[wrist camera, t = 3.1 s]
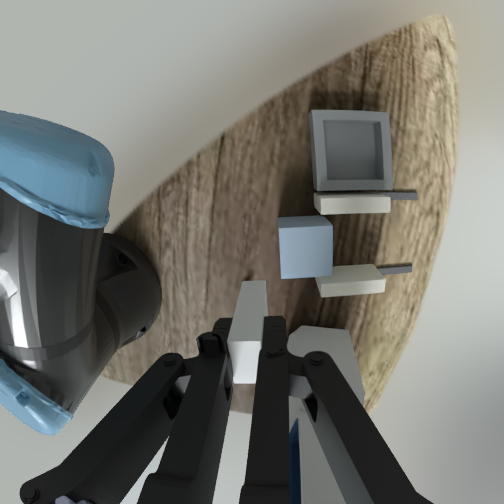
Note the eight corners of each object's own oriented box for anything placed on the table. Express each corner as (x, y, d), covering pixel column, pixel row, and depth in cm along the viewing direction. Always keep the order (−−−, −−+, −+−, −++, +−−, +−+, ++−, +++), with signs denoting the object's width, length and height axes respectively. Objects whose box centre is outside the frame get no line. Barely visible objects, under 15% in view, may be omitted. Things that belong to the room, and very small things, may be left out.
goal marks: (375, 274, 31) (376, 275, 31) (378, 192, 28) (379, 192, 28) (410, 271, 31) (411, 272, 31) (416, 192, 28) (417, 192, 28)
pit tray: (313, 188, 29) (317, 191, 26) (308, 114, 26) (311, 109, 24) (382, 186, 28) (392, 189, 25) (378, 116, 26) (388, 112, 23)
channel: (315, 279, 32) (321, 297, 28) (313, 192, 29) (320, 198, 25) (371, 275, 31) (384, 291, 27) (374, 191, 28) (390, 197, 24)
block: (280, 260, 32) (281, 278, 27) (277, 217, 30) (278, 228, 26) (323, 258, 31) (332, 275, 27) (323, 215, 30) (332, 225, 25)
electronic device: (322, 390, 38) (343, 577, 10) (274, 386, 38) (265, 583, 10) (347, 324, 34) (416, 557, 5) (291, 318, 34) (303, 582, 6)
